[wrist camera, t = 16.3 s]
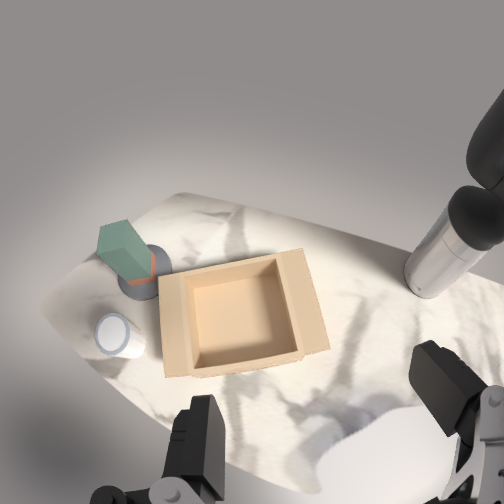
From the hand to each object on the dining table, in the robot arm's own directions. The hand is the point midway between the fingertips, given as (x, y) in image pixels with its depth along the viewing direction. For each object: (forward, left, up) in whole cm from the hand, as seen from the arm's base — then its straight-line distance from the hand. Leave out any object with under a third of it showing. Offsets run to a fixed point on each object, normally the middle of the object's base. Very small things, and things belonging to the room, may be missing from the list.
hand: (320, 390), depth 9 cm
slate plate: (+15, -29, -31) cm, 45 cm away
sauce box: (+15, -29, -30) cm, 44 cm away
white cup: (+21, -17, -32) cm, 41 cm away
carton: (+2, -13, -31) cm, 34 cm away
